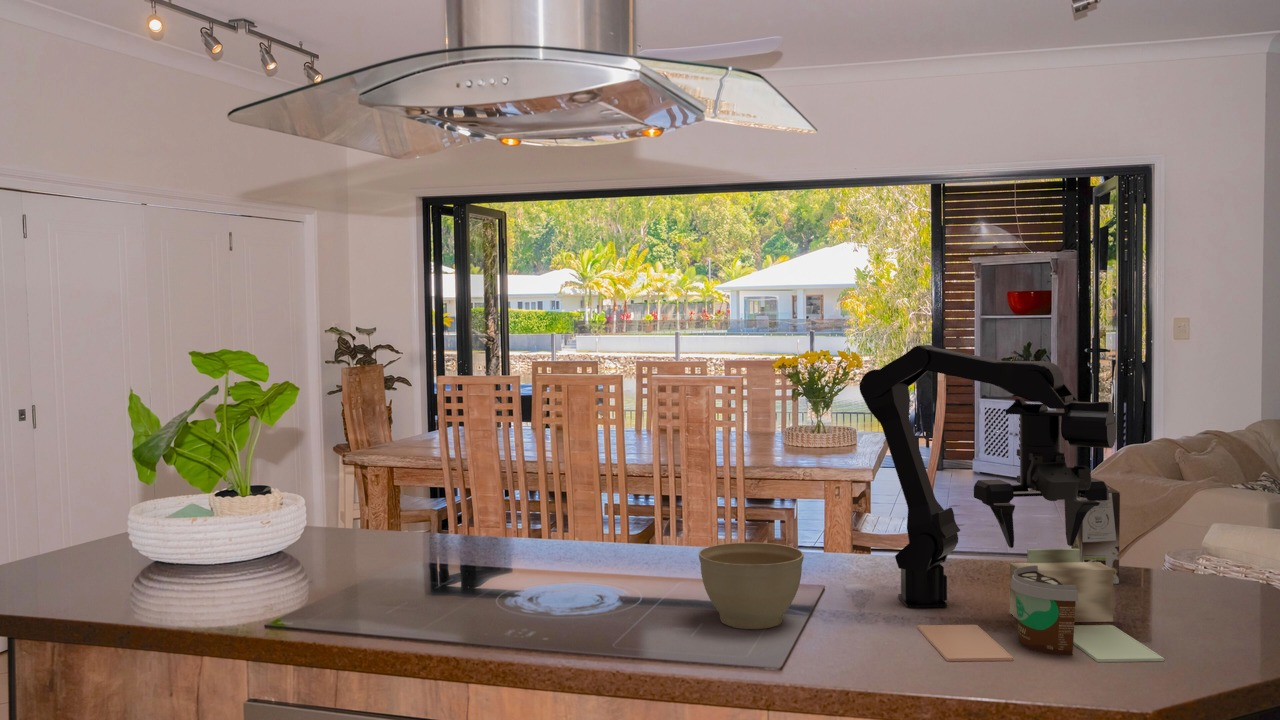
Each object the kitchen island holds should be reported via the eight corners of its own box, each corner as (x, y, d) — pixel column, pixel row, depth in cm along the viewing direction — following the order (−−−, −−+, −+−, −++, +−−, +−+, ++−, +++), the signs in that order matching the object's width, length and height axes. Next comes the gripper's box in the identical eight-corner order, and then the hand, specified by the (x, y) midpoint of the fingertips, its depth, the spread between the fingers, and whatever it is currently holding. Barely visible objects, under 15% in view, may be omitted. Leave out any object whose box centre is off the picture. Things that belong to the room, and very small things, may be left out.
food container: (995, 632, 150) (995, 565, 150) (1035, 631, 151) (1035, 564, 151) (1034, 660, 138) (1034, 587, 138) (1078, 658, 139) (1078, 586, 138)
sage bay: (1097, 662, 137) (1097, 659, 137) (1052, 628, 152) (1052, 625, 152) (1164, 661, 137) (1164, 658, 137) (1112, 627, 152) (1112, 625, 152)
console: (1021, 622, 155) (1021, 557, 155) (1008, 612, 161) (1008, 549, 160) (1113, 621, 155) (1113, 556, 155) (1096, 611, 161) (1097, 548, 160)
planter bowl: (824, 620, 158) (824, 551, 157) (760, 645, 146) (759, 570, 146) (743, 601, 169) (743, 536, 169) (678, 622, 158) (677, 553, 157)
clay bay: (947, 661, 138) (947, 658, 138) (917, 628, 153) (917, 625, 153) (1013, 660, 138) (1013, 657, 138) (976, 627, 153) (976, 624, 153)
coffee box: (1120, 584, 176) (1121, 492, 176) (1081, 583, 178) (1081, 491, 177) (1107, 571, 185) (1108, 483, 185) (1070, 570, 187) (1070, 483, 186)
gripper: (1000, 452, 146) (1001, 560, 146) (1127, 449, 147) (1128, 556, 147) (971, 443, 157) (972, 544, 157) (1090, 440, 158) (1090, 540, 158)
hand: (1040, 546), depth 155 cm, fingers open, 9 cm apart
